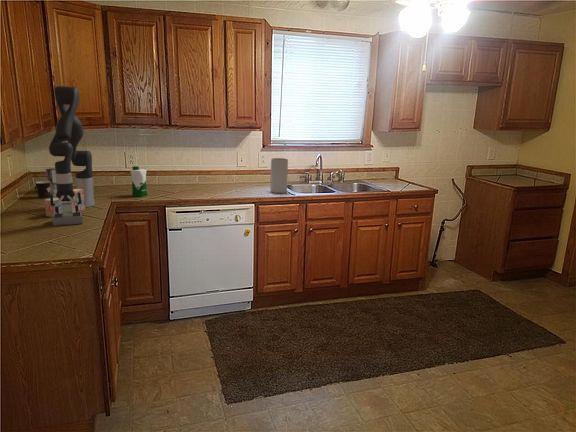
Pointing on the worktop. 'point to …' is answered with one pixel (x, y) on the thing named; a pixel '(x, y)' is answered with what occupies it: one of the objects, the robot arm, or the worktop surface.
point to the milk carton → (138, 182)
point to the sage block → (67, 209)
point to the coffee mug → (43, 189)
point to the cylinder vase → (279, 175)
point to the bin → (67, 219)
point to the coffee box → (51, 179)
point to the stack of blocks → (51, 209)
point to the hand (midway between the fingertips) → (67, 212)
